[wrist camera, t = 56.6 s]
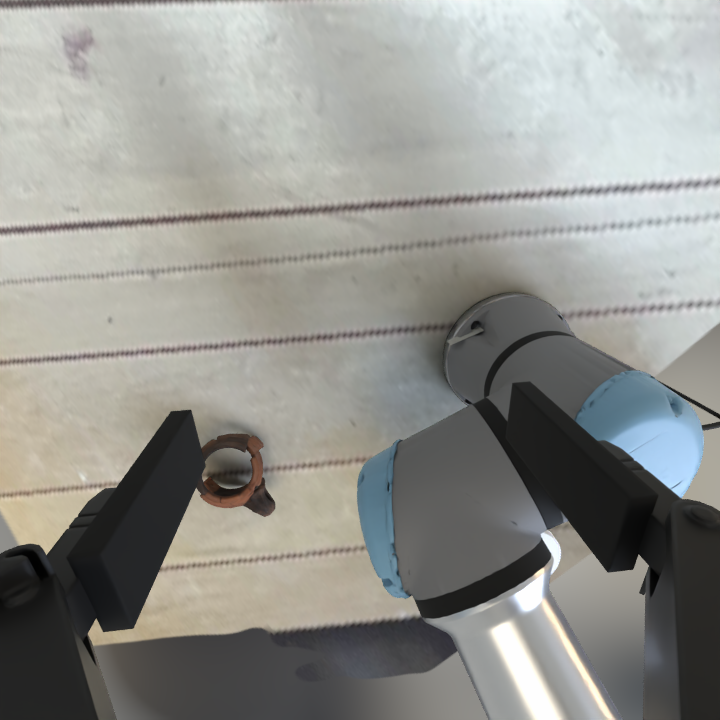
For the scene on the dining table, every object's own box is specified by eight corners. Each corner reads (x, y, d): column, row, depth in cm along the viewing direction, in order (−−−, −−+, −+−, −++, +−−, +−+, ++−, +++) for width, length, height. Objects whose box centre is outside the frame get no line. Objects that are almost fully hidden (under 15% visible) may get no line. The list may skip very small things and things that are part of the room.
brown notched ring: (185, 471, 50) (166, 482, 42) (234, 415, 52) (225, 416, 44) (256, 526, 51) (250, 547, 43) (301, 468, 53) (304, 479, 45)
